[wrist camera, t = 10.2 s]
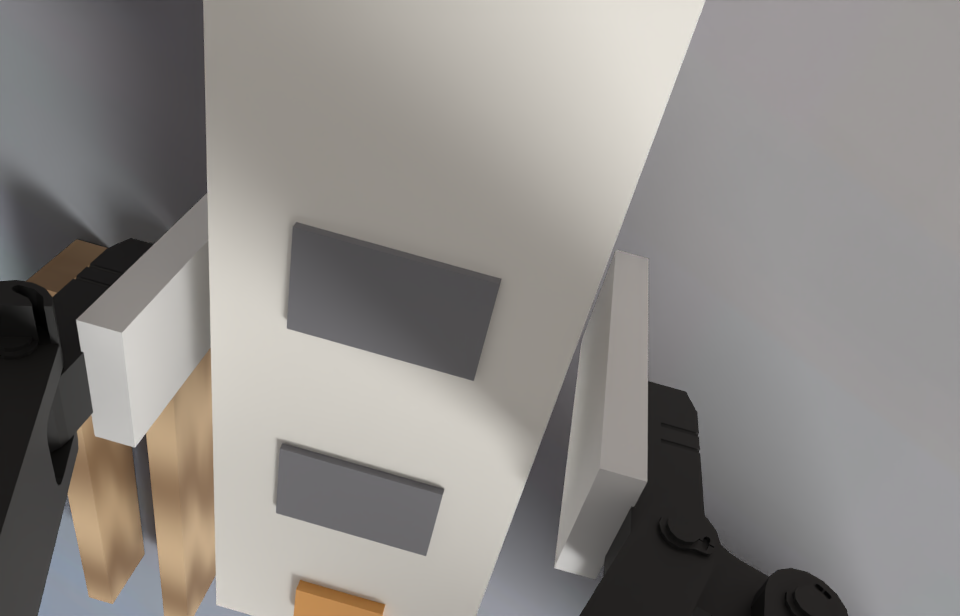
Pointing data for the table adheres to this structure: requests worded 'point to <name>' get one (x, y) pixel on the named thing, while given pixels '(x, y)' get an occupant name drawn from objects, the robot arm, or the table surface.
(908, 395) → the table surface
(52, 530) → the robot arm
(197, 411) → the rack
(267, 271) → the power strip
